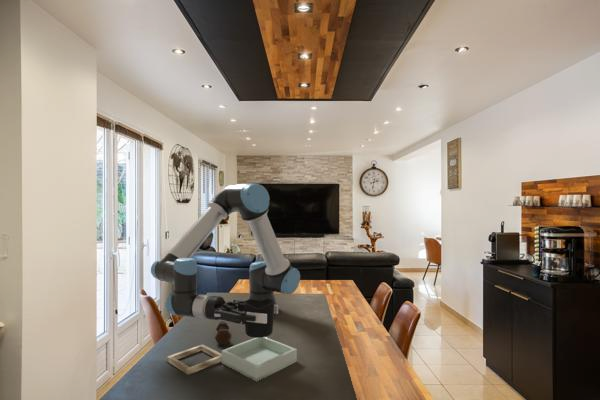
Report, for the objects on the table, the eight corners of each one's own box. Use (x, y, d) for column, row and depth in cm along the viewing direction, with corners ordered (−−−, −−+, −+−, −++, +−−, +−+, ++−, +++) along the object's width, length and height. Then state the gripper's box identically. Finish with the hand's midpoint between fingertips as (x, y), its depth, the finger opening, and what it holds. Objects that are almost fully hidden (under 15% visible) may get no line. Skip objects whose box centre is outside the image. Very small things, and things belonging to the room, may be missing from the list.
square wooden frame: (202, 348, 119) (202, 344, 119) (224, 360, 110) (224, 355, 110) (166, 361, 109) (166, 356, 109) (188, 374, 101) (188, 369, 101)
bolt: (224, 334, 137) (225, 348, 123) (213, 328, 136) (212, 342, 122) (231, 321, 138) (233, 333, 124) (220, 315, 137) (221, 327, 123)
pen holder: (258, 325, 115) (258, 296, 116) (279, 332, 110) (280, 301, 110) (237, 334, 108) (238, 302, 108) (260, 341, 102) (260, 307, 102)
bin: (261, 346, 121) (261, 335, 121) (296, 361, 110) (296, 349, 110) (221, 363, 108) (221, 350, 108) (256, 381, 97) (256, 367, 97)
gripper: (225, 309, 124) (283, 315, 118) (190, 329, 104) (258, 338, 97) (226, 288, 125) (283, 293, 118) (190, 304, 104) (258, 312, 97)
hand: (272, 313), depth 108 cm, fingers closed on pen holder, 9 cm apart
